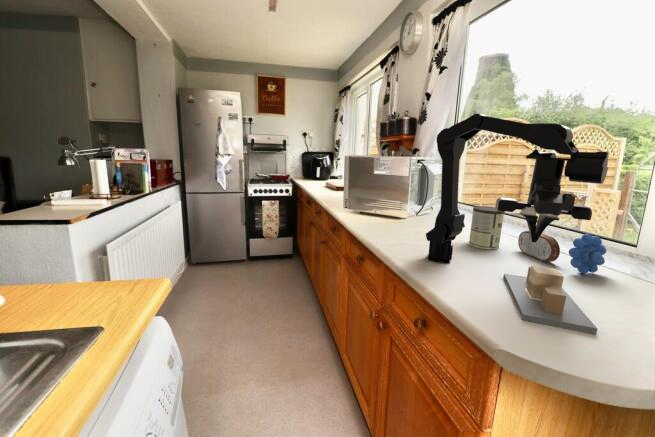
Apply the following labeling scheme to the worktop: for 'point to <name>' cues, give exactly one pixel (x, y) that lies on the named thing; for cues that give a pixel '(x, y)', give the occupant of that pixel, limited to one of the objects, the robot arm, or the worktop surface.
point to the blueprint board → (541, 316)
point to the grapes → (587, 253)
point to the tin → (539, 247)
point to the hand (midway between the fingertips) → (533, 242)
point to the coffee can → (486, 227)
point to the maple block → (543, 280)
